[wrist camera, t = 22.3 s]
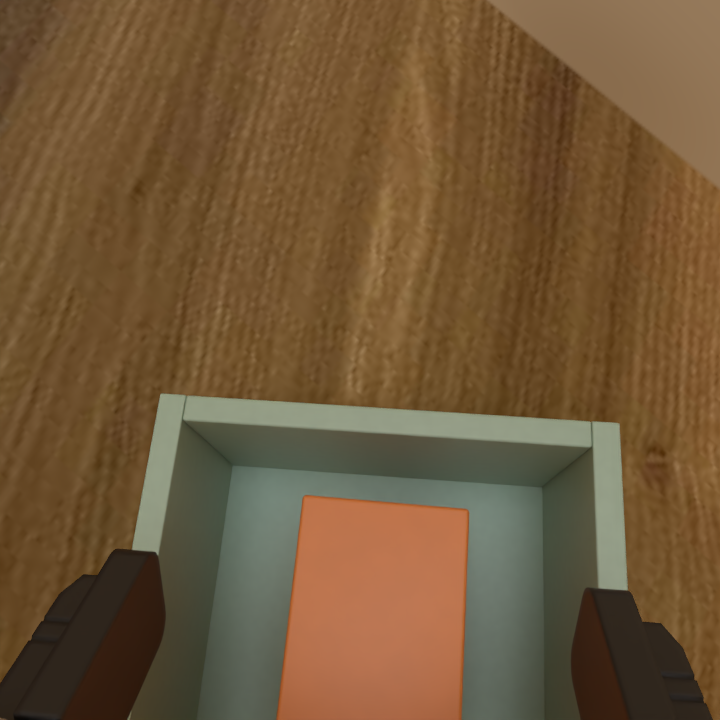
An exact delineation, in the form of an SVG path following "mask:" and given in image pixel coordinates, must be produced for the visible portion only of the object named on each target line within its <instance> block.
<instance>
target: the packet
mask: <svg viewBox="0 0 720 720" xmlns="http://www.w3.org/2000/svg"><path fill="white" fill-rule="evenodd" d="M468 536H469V510H467V509H463V508H451V507H440V506H428V505H417V504H405V503H393V502H382V501H370V500H359V499H347V498H336V497H324V496H313V495H305V496H303V498H302V507H301V515H300V524H299V532H298V540H297V549H296V557H295V566H294V574H293V582H292V591H291V599H290V608H289V616H288V625H287V633H286V641H285V650H284V658H283V667H282V675H281V683H280V692H279V700H278V709H277V717H276V720H462V694H463V668H464V642H465V615H466V589H467V562H468Z"/></svg>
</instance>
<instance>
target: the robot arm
mask: <svg viewBox="0 0 720 720" xmlns="http://www.w3.org/2000/svg"><path fill="white" fill-rule="evenodd" d="M165 621H166V608H165V601H164V594H163V586H162V579H161V571H160V564H159V558H158V555H157V553H156V552H153V551H140V550H128V549H115V550H114V551H113V552H112V553H111V554H110V556H109V557H108V559H107V561H106V562H105V564H104V566H103V567H102V569H101V570H100V572H99V574H98V575H85V574H84V575H82V576H81V577H80V578H79V579H77V580H76V581H75V582H74V583H72V584H71V585H70V586H69V587H67V588H66V589H65V590H64V591H62V592H61V593H60V594H59V595H58V597H57V599H56V600H55V602H54V603H53V605H52V606H51V608H50V609H49V611H48V612H47V614H46V615H45V618H44V621H41V623H40V624H39V626H38V627H37V629H36V630H35V632H34V633H33V635H32V639H31V641H28V642H27V644H26V645H25V647H24V648H23V650H22V651H21V653H20V654H19V656H18V658H17V659H16V661H15V662H14V664H13V665H12V667H11V668H10V670H9V671H8V673H7V674H6V676H5V677H4V679H3V680H2V682H1V683H0V720H127V719H128V717H129V715H130V712H131V710H132V708H133V706H134V703H135V701H136V699H137V697H138V694H139V692H140V690H141V687H142V685H143V683H144V681H145V678H146V676H147V674H148V672H149V669H150V667H151V665H152V662H153V660H154V658H155V656H156V653H157V651H158V649H159V646H160V644H161V641H162V638H163V634H164V629H165ZM571 676H572V683H573V688H574V692H575V696H576V701H577V705H578V710H579V714H580V719H581V720H713V719H712V717H711V714H710V712H709V710H708V707H707V705H706V703H704V701H703V695H702V693H701V690H700V688H699V686H698V683H697V681H695V680H694V674H693V671H692V669H691V666H690V664H689V662H688V659H687V657H686V654H685V652H684V650H683V648H682V647H681V645H680V644H679V643H678V642H677V641H676V640H675V639H674V638H673V636H672V635H671V634H670V633H669V632H668V631H667V630H666V629H665V627H664V626H663V625H662V624H661V623H650V622H642V620H641V617H640V615H639V612H638V609H637V606H636V604H635V601H634V598H633V596H632V594H631V593H630V592H629V591H628V590H615V589H603V588H590V587H587V588H585V590H584V592H583V596H582V600H581V605H580V610H579V615H578V619H577V624H576V629H575V633H574V638H573V643H572V648H571Z"/></svg>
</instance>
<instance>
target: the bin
mask: <svg viewBox="0 0 720 720" xmlns="http://www.w3.org/2000/svg"><path fill="white" fill-rule="evenodd" d="M305 495H313V496H324V497H336V498H347V499H359V500H370V501H382V502H393V503H405V504H417V505H428V506H440V507H451V508H463V509H467V510H469V536H468V562H467V589H466V615H465V642H464V668H463V694H462V720H581V719H580V714H579V710H578V705H577V701H576V696H575V692H574V688H573V683H572V676H571V648H572V643H573V638H574V633H575V629H576V624H577V619H578V615H579V610H580V605H581V600H582V596H583V592H584V590H585V588H587V587H590V588H603V589H615V590H628V585H627V565H626V545H625V525H624V505H623V484H622V464H621V444H620V425H619V423H611V422H596V421H593V422H589V421H577V420H561V419H546V418H530V417H515V416H499V415H484V414H468V413H453V412H437V411H422V410H406V409H391V408H375V407H359V406H344V405H328V404H313V403H297V402H282V401H266V400H251V399H235V398H220V397H204V396H186V395H177V394H161V395H160V399H159V405H158V410H157V416H156V421H155V427H154V432H153V437H152V443H151V448H150V454H149V459H148V464H147V470H146V475H145V481H144V486H143V492H142V497H141V502H140V508H139V513H138V519H137V524H136V529H135V535H134V540H133V546H132V550H140V551H153V552H156V553H157V555H158V558H159V564H160V571H161V579H162V586H163V594H164V601H165V608H166V621H165V629H164V634H163V638H162V641H161V644H160V646H159V649H158V651H157V653H156V656H155V658H154V660H153V662H152V665H151V667H150V669H149V672H148V674H147V676H146V678H145V681H144V683H143V685H142V687H141V690H140V692H139V694H138V697H137V699H136V701H135V703H134V706H133V708H132V710H131V712H130V715H129V717H128V719H127V720H276V717H277V709H278V700H279V692H280V683H281V675H282V667H283V658H284V650H285V641H286V633H287V625H288V616H289V608H290V599H291V591H292V582H293V574H294V566H295V557H296V549H297V540H298V532H299V524H300V515H301V507H302V498H303V496H305Z"/></svg>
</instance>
